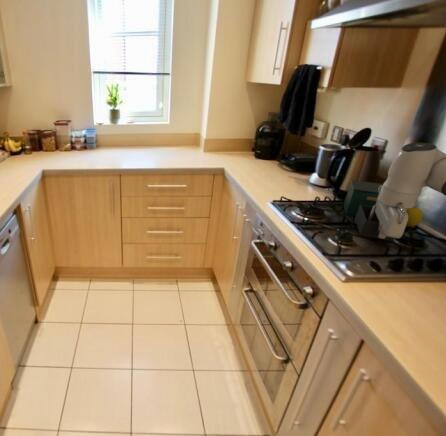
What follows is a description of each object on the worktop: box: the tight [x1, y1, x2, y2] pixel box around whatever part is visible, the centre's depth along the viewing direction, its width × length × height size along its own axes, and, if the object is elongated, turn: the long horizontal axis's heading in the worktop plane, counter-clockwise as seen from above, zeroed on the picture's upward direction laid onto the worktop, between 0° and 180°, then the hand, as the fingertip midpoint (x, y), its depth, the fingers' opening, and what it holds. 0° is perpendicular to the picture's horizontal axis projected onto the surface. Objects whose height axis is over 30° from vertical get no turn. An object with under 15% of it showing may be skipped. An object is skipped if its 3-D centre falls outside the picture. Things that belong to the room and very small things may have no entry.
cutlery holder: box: [353, 204, 395, 242], centre depth 109 cm, size 9×14×10 cm, turn 152°
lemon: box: [405, 206, 424, 228], centre depth 112 cm, size 6×6×8 cm
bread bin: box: [343, 179, 384, 217], centre depth 121 cm, size 14×11×11 cm
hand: (380, 236), depth 102 cm, fingers closed
